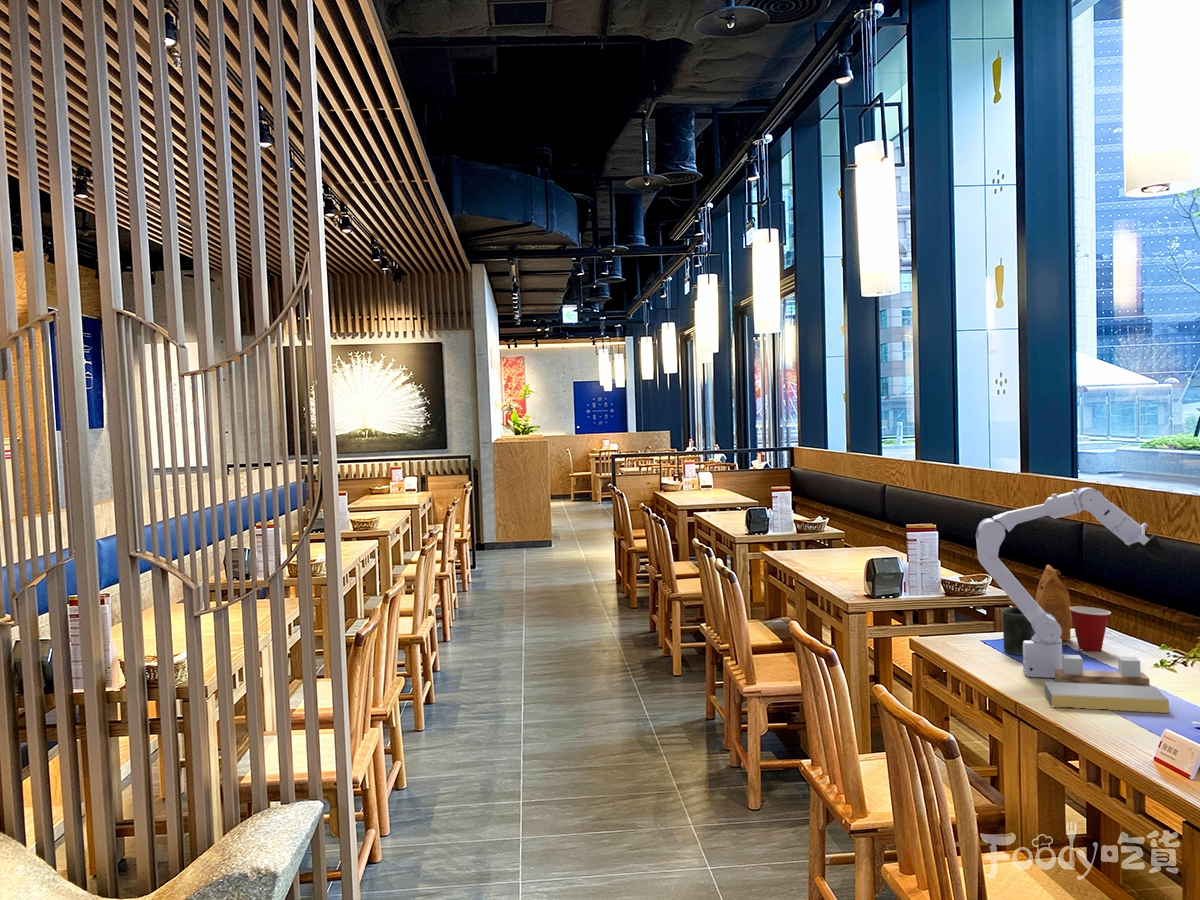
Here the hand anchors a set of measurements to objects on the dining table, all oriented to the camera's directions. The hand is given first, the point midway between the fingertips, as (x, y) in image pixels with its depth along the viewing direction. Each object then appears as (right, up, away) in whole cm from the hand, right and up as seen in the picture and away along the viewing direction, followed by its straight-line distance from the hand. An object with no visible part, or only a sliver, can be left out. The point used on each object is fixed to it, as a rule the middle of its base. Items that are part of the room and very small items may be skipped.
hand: (1164, 559), depth 230 cm
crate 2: (-12, -28, -6) cm, 31 cm away
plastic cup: (0, -31, +34) cm, 45 cm away
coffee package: (-4, -30, +49) cm, 58 cm away
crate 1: (-24, -28, -2) cm, 37 cm away
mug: (-20, -31, +36) cm, 51 cm away
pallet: (-18, -32, -4) cm, 37 cm away
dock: (-24, -32, -16) cm, 43 cm away
